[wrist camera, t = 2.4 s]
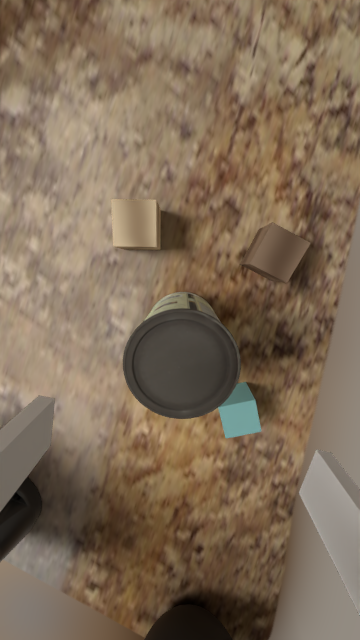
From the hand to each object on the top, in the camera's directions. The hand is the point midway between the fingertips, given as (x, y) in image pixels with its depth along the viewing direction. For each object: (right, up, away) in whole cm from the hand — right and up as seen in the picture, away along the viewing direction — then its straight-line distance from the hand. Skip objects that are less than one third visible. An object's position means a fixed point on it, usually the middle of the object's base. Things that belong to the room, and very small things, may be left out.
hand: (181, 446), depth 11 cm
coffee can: (0, +5, +22) cm, 23 cm away
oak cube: (-5, +18, +19) cm, 27 cm away
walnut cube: (+12, +15, +20) cm, 27 cm away
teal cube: (+8, -6, +25) cm, 27 cm away
